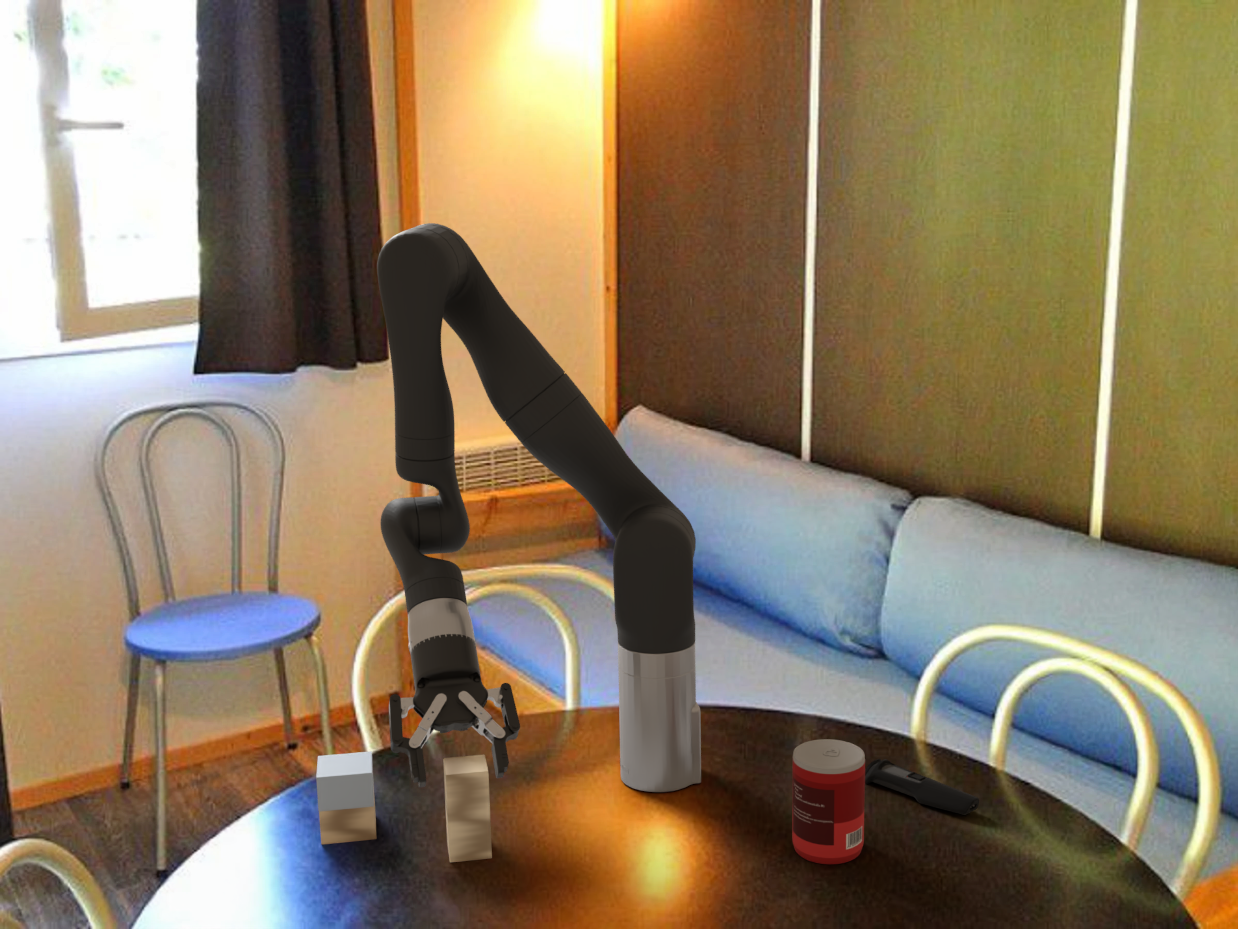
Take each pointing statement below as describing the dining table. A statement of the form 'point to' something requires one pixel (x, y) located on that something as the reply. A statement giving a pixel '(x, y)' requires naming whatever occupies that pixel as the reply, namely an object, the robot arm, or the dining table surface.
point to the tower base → (348, 825)
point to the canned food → (828, 801)
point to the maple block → (467, 808)
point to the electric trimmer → (920, 787)
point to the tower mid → (345, 781)
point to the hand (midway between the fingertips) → (462, 780)
